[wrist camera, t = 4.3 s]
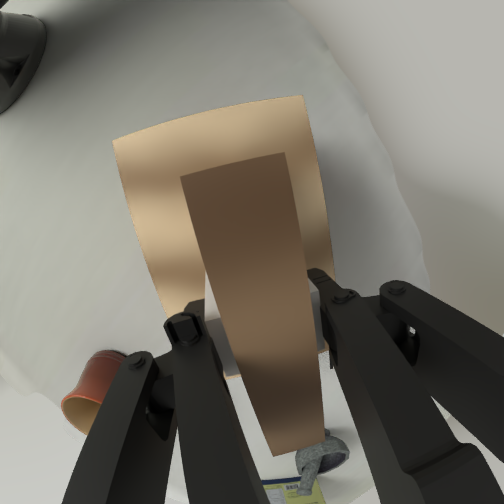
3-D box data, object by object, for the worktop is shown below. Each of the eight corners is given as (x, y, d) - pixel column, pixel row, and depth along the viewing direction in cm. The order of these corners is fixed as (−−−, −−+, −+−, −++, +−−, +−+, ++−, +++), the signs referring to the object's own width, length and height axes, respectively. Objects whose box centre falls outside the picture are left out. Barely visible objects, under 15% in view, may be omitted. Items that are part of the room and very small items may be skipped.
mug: (90, 380, 32) (69, 430, 22) (84, 335, 30) (53, 385, 20) (166, 399, 34) (160, 455, 24) (170, 355, 32) (161, 415, 22)
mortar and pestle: (329, 415, 40) (354, 466, 29) (343, 434, 43) (364, 478, 32) (273, 441, 40) (287, 494, 29) (293, 457, 43) (307, 502, 32)
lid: (123, 143, 16) (6, 120, 4) (292, 102, 17) (400, 33, 5) (198, 367, 22) (201, 493, 11) (330, 331, 23) (400, 434, 11)
